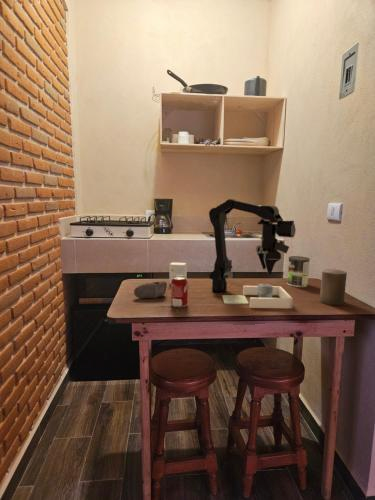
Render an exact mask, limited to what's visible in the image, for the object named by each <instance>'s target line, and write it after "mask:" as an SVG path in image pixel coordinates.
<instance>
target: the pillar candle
mask: <svg viewBox="0 0 375 500" xmlns="http://www.w3.org/2000/svg"><path fill="white" fill-rule="evenodd" d="M347 273H348V272H347V271H345V270H342V269H336V268H334V269H331V268H325V269H322V270H321V279H320V280H321V281H320V293H319V302H321V303H322V304H326V305H329V306H343V305H344V304H345V296H346V287H347V286H346V285H347V282H346V281H347V276H348V275H347Z"/></svg>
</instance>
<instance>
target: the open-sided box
mask: <svg viewBox="0 0 375 500" xmlns="http://www.w3.org/2000/svg"><path fill="white" fill-rule="evenodd" d="M271 286H272V287H273V293H272V296H277V297H272V298H258V297H254V296H258V285H243V287H242V296H251V297H249V308H251V309H293V306H294V299H293V297H292V296H291V295H290V294H289V293H288V292H287V291H286V290H285V289H284V288H283V287H282V286H280V285H277V286H275V285H271ZM252 296H253V297H252Z"/></svg>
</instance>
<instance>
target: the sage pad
mask: <svg viewBox="0 0 375 500" xmlns="http://www.w3.org/2000/svg"><path fill="white" fill-rule="evenodd" d="M222 300H223V303H224V305H249V300H248V299H247V297H246V295H239V294H238V295H236V294H234V295H229V294H228V295H227V294H226V295H225V294H224V295H223V294H222Z"/></svg>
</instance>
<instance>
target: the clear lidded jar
mask: <svg viewBox="0 0 375 500" xmlns="http://www.w3.org/2000/svg"><path fill="white" fill-rule="evenodd" d="M310 260H311V258H309V257H307V256H306V257H305V256H299V255H293V256H288V264H287V265H288V266H287V278H286V284H287V285H288V286H291V287H294V288H295V287H296V288H306V287H308V283H309V282H308V281H309V270H310Z"/></svg>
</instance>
